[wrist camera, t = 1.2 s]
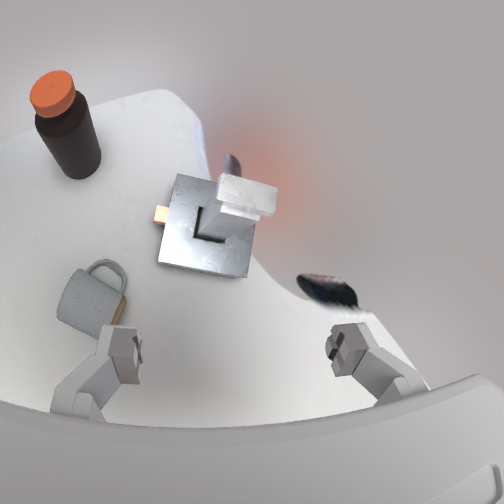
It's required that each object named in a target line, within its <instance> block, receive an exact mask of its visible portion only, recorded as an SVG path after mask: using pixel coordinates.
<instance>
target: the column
mask: <svg viewBox="0 0 504 504" xmlns="http://www.w3.org/2000/svg"><path fill="white" fill-rule="evenodd" d="M277 191H278V188H276V187H272V186H269V185H265V184H262V183H259V182H255V181H252V180H248V179H244V178H241V177H237V176H233V175H229V174H225V173H221V175H220V176H219V178H218V181H217V186H216V190H215V192H214V193H213V194H212V195H211V197H210V198H209V199H208V201H207V202H206V203H205V205H204V206H203V207H202V209H201V210H200V211H199V213H198V214H197V217H196V222H195V227H194V232H193V237H192V238H195V239H200V240H205V241H209V242H214V243H220V242H222V241H223V240H225V239H227V238H229V237H231V236H232V235H234V234H236V233H238V232H240V231H242V230H243V229H245V228H247V227H249V226H251V225H253V224H254V223H256V222H258V221H259V219H260V215H264V216H268V217H269V216H270V215H272V214H274V212H275V205H276V198H277Z"/></svg>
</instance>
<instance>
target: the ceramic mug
mask: <svg viewBox="0 0 504 504" xmlns="http://www.w3.org/2000/svg"><path fill="white" fill-rule="evenodd" d="M101 265H105V266H108V267H109V268H111V269H113V270H114V271H115V272H116V273H117V274H118V275H120V276H121V278H122V288H121V290H120V292H119V291H117V290H115V289H114V288H112V287H110V286H108V285H106V284H105V283H103V282H101V281H100V280H98V279H97V278H95V277H93V276H91V275H90V273H91V271H92V270H94V269H95V268H96V267H98V266H101ZM125 284H126V276H125V273H124V271H123V269H122V268H121V267H120V266H119V265H118V264H117V263H115V262H113V261H111V260H107V259H104V260H100V261H97V262H95V263H94V264H93V265H91V266H90V267H89V268H88V270H87V271H86V272H85V271H84V270H82V269H78V270H77V271H76V272H75V273H74V274H73V276H72V277H71V279H70V280H69V282H68V284H67V286H66V288H65V290H64V292H63V294H62V297H61V300H60V302H59V305H58V308H57V318H58V319H59V320H60V321H62V322H64V323H66V324H68V325H70V326H72V327H74V328H75V329H77V330H80V331H82V332H84V333H86V334H88V335H90V336H92V337H94V338H96V339H99V336H100V333H101V329H102V326H103V325H104V324H107V325H116V324H117V322H118V320H119V317H120V315H121V313H122V310H123V308H124V306H125V303H126V299H125V297H124V296H123V295H122V293H123V291H124V288H125Z"/></svg>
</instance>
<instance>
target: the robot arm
mask: <svg viewBox="0 0 504 504" xmlns="http://www.w3.org/2000/svg"><path fill="white" fill-rule="evenodd" d="M331 333H332V335H331V336H329V337H328V338H327V341H326V345H325V350H326V354H327V357H328V358H329V359H330V360H331V361H332V364H331V367H332V370H333V372H334V374H335V377H339V376H347V375H352V376H353V377H354V378H355V379H356V380H357V381H358V382H359V383H360V384H361V385H362V386H363V387H364V388H366V389H367V390H368V391H369V392H370V393H371V394H372V395H373V396H374V397H375V398H376V399H378V401H377V402H376V403H375V404H374V405H373V407H370V408H366V409H361V410H357V411H352V412H347V413H342V414H337V415H332V416H326V417H320V418H314V419H308V420H301V421H293V422H285V423H276V424H267V425H255V426H241V427H220V428H169V427H149V426H135V425H124V424H114V423H106V421H105V419H104V417H103V416H102V414H101V412H100V410H101V409H102V408H103V406H104V405H105V404H106V403H107V401H108V400H109V399H110V397H111V396H112V395H113V394H114V392H115V391H116V390H117V389H118V387H119V386H120V385H121V384H140V383H141V373H142V371H141V366H140V365H141V364H142V363H143V343H142V340H141V339H140V335H141V332H140V328H139V327H131V326H120V325H107V324H104V325H103V326H102V329H101V333H100V336H99V340H98V344H97V348H96V352H95V355H91V356H90V357H88V358H87V359H86V360H85V361H84V362H83V363H82V364H81V365H80V366H79V367H77V368H76V369H75V370H74V371H73V372H72V373H71V374H70V375H69V376H68V377H67V378H65V379H64V380H63V381H62V382H61V383H60V384H59V385H58V386H57V387H56V389H55V392H54V396H53V400H52V404H51V408H50V413H47V412H43V411H38V410H34V409H30V408H26V407H22V406H19V405H15V404H11V403H8V402H5V401H1V400H0V504H504V393H503V391H502V389H501V388H500V387H499V386H498V385H497V384H496V383H494V382H493V381H491V380H490V379H488V378H487V377H485V376H483V375H481V374H473V375H471V376H468V377H466V378H463V379H461V380H458V381H456V382H453V383H450V384H448V385H445V386H442V387H439V388H436V389H433V390H430V391H429V390H428V388H427V387H426V385H425V383H424V381H423V379H422V378H421V376H420V374H419V372H418V371H416V370H415V369H413V368H412V367H410V366H409V365H407V364H406V363H404V362H403V361H401V360H400V359H398V358H397V357H395V356H394V355H392V354H391V353H389V352H388V351H386V350H385V349H384V348H379V346H378V344H377V342H376V341H375V339H374V337H373V335H372V333H371V332H370V330H369V328H368V326H367V325H366V324H365V323H364V322H363V323H351V324H340V325H334V326H333V327H332V329H331ZM120 383H121V384H120Z"/></svg>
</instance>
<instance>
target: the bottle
mask: <svg viewBox="0 0 504 504" xmlns="http://www.w3.org/2000/svg"><path fill="white" fill-rule="evenodd" d="M30 101H31V103H32V105H33V107H34V109H35V111H36V115H35V125H36V129H37V131H38V133H39V135H40V136H41V138H42V139H43V141H44V142H45V144H46V146H47V147H48V149H49V150H50V152H51V153H52V155H53V156H54V158H55V159H56V161H57V162H58V164H59V165H60V167H61V168H62V170H63V171H64V173H65V174H66V175H67V176H69V177H71V178H73V179H82V178H86V177H88V176H89V175H91V174H92V173H93V172H94V171H95V170H96V169H97V167H98V166H99V164H100V160H101V151H100V147H99V144H98V141H97V137H96V134H95V130H94V127H93V123H92V119H91V116H90V112H89V108H88V104H87V101H86V99H85V97H84V95H82V94H81V93H80V92H79V91H77V90H75V87H74V83H73V79H72V77H71V75H70V74H69V73H67V72H65V71H60V70H59V71H52V72H49V73H47V74H45V75H44V76H42V77H41V78H40V79H39V80H37V82H36V83H35V85H34V86H33V88H32V89H31V93H30Z"/></svg>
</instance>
